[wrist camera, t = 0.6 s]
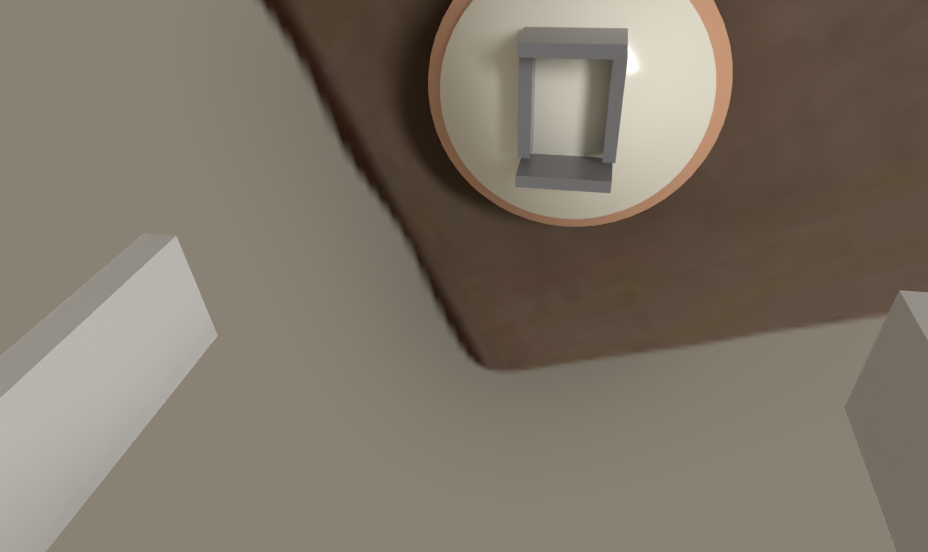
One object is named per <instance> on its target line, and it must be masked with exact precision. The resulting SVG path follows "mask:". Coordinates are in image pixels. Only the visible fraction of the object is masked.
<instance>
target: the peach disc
mask: <svg viewBox="0 0 928 552" xmlns="http://www.w3.org/2000/svg"><path fill="white" fill-rule="evenodd" d="M732 65H733V64H732V56H731V49H730V42H729V39H728V35H727V32H726V28H725V25H724V22H723V19H722V17H721V15H720V13H719V11H718V9H717V7H716V4H715V2H714V0H453V1H452V3H451V4H450V6H449V8H448V10H447V12H446V13H445V15H444V17H443V19H442V21H441V24H440V26H439V29H438V31H437V34H436V36H435V40H434V44H433V48H432V52H431V56H430V64H429V72H428V95H429V102H430V109H431V114H432V118H433V121H434V125H435V129H436V131H437V134H438V136H439V139H440V141H441V144H442V146H443V148H444V149H445V151H446V153H447V155H448V156H449V158H450V160H451V161H452V163H453V164H454V166H455V167H456V168H457V170H458V171H459V172H460V174H461V175H462V176H463V177H464V178H465V179H466V180H467V181H468V182H469V183H470V184H471V186H473V187H474V188H475V189H476V190H477V191H478V192H480V193H481V194H482V195H483V196H484V197H486V198H487V199H489V200H490V201H492V202H493V203H495V204H496V205H498V206H499V207H501V208H503V209H505V210H507V211H509V212H511V213H513V214H515V215H518V216H521V217H523V218H526V219H529V220H532V221H536V222H540V223H544V224H550V225H558V226H576V227H581V226H592V225H600V224H605V223H610V222H615V221H618V220H621V219H624V218H627V217H631V216H633V215H635V214H638V213H640V212H642V211H644V210H646V209H649V208H650V207H652V206H654V205H655V204H657V203H659V202H660V201H662V200H664V199H665V198H666V197H668V196H669V195H670V194H672V193H673V192H674V191H675V190H677V189H678V188H679V187H680V186H681V185H682V184H683V183H684V182H685V181H686V180H688V179H689V178H690V177H691V176H692V175H693V173H694V172H695V171H696V170H697V168H698V167H699V166H700V165H701V163H702V162H703V161H704V160H705V158H706V157H707V155H708V153H709V152H710V150H711V148H712V147H713V145H714V144H715V142H716V140H717V137H718V135H719V133H720V131H721V128H722V126H723V124H724V120H725V117H726V114H727V110H728V107H729V103H730V96H731V90H732Z"/></svg>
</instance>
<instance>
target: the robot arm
mask: <svg viewBox="0 0 928 552" xmlns="http://www.w3.org/2000/svg"><path fill="white" fill-rule="evenodd" d="M216 337H217V333H216V331H215V329H214V326H213V324H212V321H211V319H210V316H209V314H208V311H207V309H206V307H205V304H204V302H203V299H202V297H201V294H200V292H199V290H198V287H197V285H196V282H195V280H194V278H193V275H192V273H191V270H190V268H189V266H188V263H187V261H186V258H185V256H184V253H183V251H182V249H181V246H180V244H179V241H178V239H177V236H174V235H161V234H148V233H147V234H146V233H144V234H142V235H141V236H140V237H139V238H138V239H137V240H135V241H134V242H133V243H132V244H131V245H130V246H128V247H127V248H126V249H125V250H124V251H123V252H121V253H120V254H119V255H118V256H117V257H116V258H114V259H113V260H112V261H111V262H110V263H109V264H107V265H106V266H105V267H104V268H103V269H101V270H100V271H99V272H98V273H97V274H96V275H95V276H93V277H92V278H91V279H90V280H89V281H88V282H86V283H85V284H84V285H83V286H82V287H80V288H79V289H78V290H77V291H76V292H75V293H73V294H72V295H71V296H70V297H69V298H68V299H67V300H65V301H64V302H63V303H62V304H61V305H59V306H58V307H57V308H56V309H55V310H54V311H52V312H51V313H50V314H49V315H48V316H47V317H46V318H44V319H43V320H42V321H41V322H40V323H38V324H37V325H36V326H35V327H34V328H33V329H31V330H30V331H29V332H28V333H27V334H26V335H24V336H23V337H22V338H21V339H20V340H19V341H18V342H16V343H15V344H14V345H13V346H12V347H10V348H9V349H8V350H7V351H6V352H5V353H3V354H2V355H1V356H0V552H46V551H47V549H48V548H49V547H50V545H51V544H52V543H53V542H54V541H55V539H56V538H57V537H58V536H59V534H60V533H61V532H62V530H63V529H64V528H65V527H66V525H67V524H68V523H69V522H70V520H71V519H72V518H73V517H74V515H75V514H76V513H77V512H78V510H79V509H80V508H81V507H82V505H83V504H84V503H85V502H86V500H87V499H88V498H89V496H90V495H91V494H92V493H93V492H94V490H95V489H96V488H97V486H98V485H99V484H100V483H101V481H102V480H103V479H104V478H105V476H106V475H107V474H108V473H109V471H110V470H111V469H112V468H113V466H114V465H115V464H116V463H117V461H118V460H119V459H120V458H121V456H122V455H123V454H124V452H125V451H126V450H127V449H128V448H129V446H130V445H131V444H132V443H133V441H134V440H135V439H136V438H137V436H138V435H139V434H140V432H141V431H142V430H143V429H144V427H145V426H146V425H147V424H148V422H149V421H150V420H151V419H152V417H153V416H154V415H155V414H156V412H157V411H158V410H159V409H160V407H161V406H162V405H163V404H164V402H165V401H166V400H167V399H168V397H169V396H170V395H171V394H172V392H173V391H174V390H175V389H176V387H177V386H178V385H179V383H180V382H181V381H182V380H183V378H184V377H185V376H186V375H187V373H188V372H189V371H190V370H191V368H192V367H193V366H194V365H195V363H196V362H197V361H198V360H199V358H200V357H201V356H202V354H203V353H204V352H205V351H206V349H207V348H208V347H209V346H210V345H211V343H212V342H213V341H214V339H215V338H216ZM845 409H846V412H847V415H848V418H849V421H850V423H851V426H852V429H853V432H854V434H855V437H856V440H857V443H858V445H859V448H860V451H861V454H862V456H863V459H864V462H865V465H866V467H867V470H868V473H869V476H870V479H871V481H872V484H873V487H874V490H875V493H876V495H877V498H878V500H879V504H880V506H881V509H882V512H883V514H884V517H885V520H886V523H887V526H888V528H889V531H890V534H891V537H892V540H893V542H894V545H895V548H896V551H897V552H928V293H926V292H913V291H900V290H899V292H898V295H897V297H896V299H895V301H894V303H893V305H892V307H891V309H890V312H889V314H888V316H887V318H886V320H885V322H884V324H883V326H882V329H881V331H880V333H879V335H878V337H877V339H876V341H875V344H874V346H873V348H872V350H871V352H870V354H869V356H868V358H867V361H866V363H865V365H864V367H863V369H862V371H861V373H860V375H859V378H858V380H857V382H856V384H855V386H854V388H853V390H852V393H851V395H850V397H849V399H848V401H847V404H846V405H845Z"/></svg>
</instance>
